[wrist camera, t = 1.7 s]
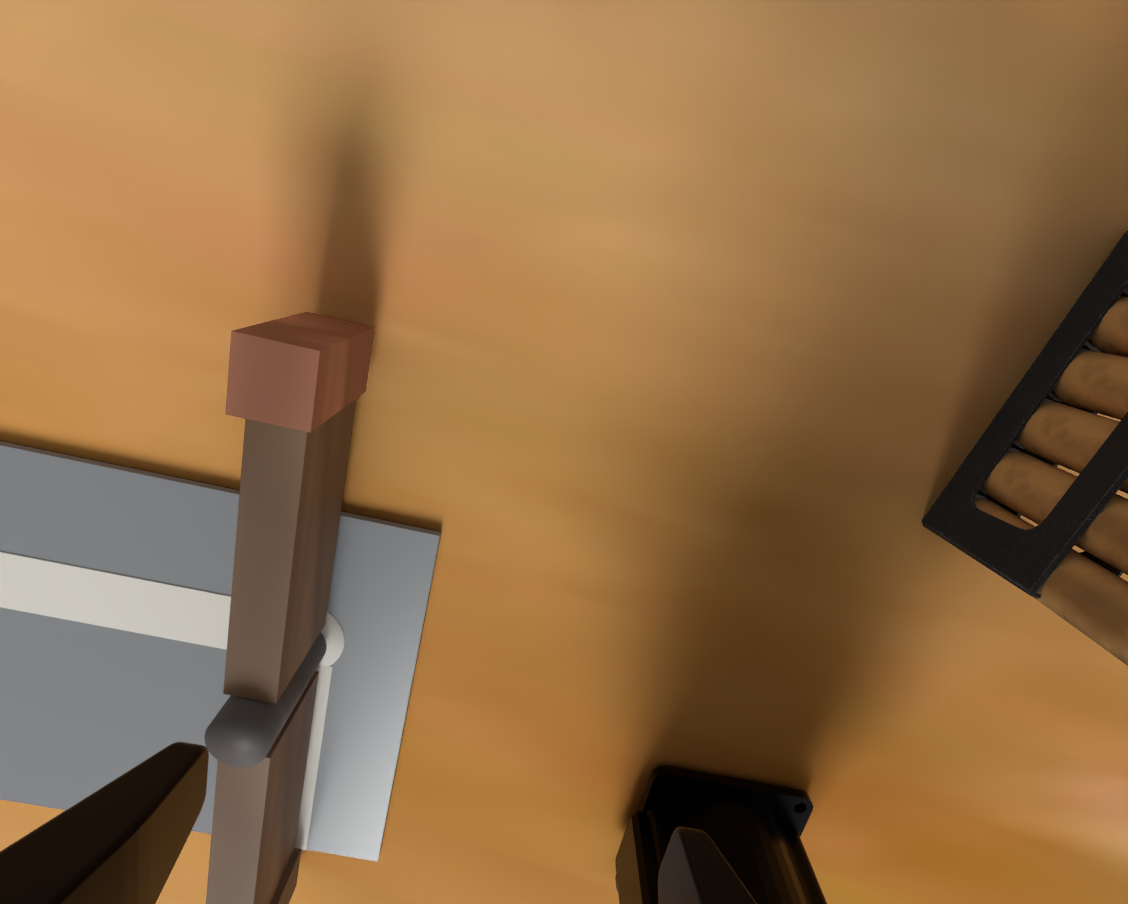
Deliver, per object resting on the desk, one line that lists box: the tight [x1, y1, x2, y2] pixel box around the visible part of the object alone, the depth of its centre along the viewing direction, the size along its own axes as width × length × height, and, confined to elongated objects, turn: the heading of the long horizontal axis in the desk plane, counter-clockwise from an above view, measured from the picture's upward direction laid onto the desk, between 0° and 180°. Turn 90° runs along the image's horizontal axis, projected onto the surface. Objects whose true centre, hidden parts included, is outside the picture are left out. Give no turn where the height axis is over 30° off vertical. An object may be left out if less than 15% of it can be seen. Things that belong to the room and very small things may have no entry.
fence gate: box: [223, 312, 374, 703], centre depth 18 cm, size 2×10×4 cm, turn 167°
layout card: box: [0, 441, 441, 861], centre depth 23 cm, size 16×15×1 cm
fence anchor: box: [204, 632, 327, 904], centre depth 22 cm, size 2×12×5 cm, turn 167°
